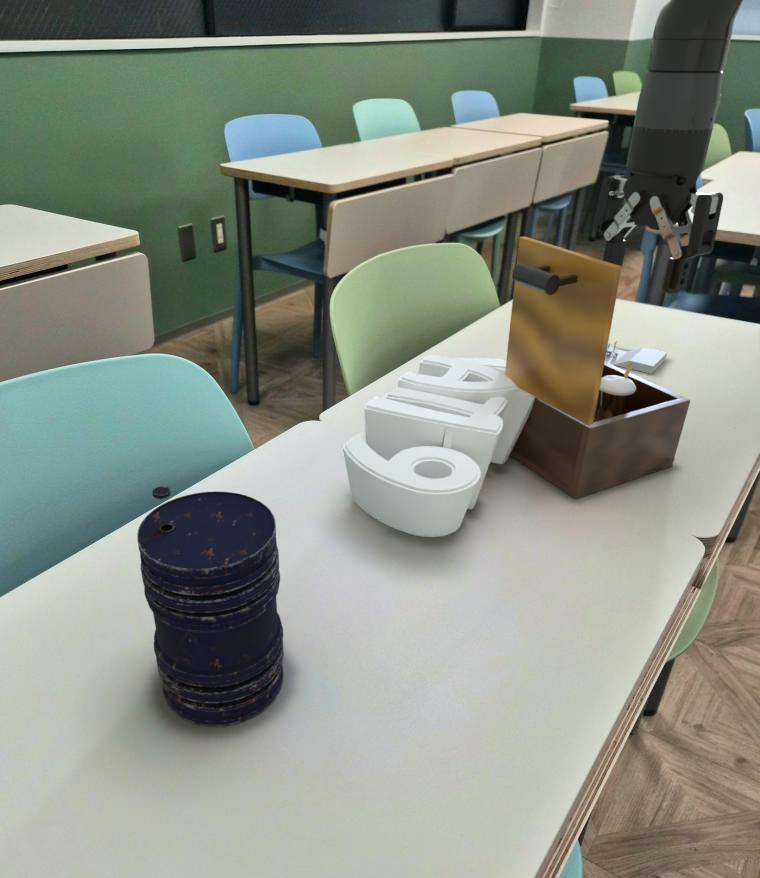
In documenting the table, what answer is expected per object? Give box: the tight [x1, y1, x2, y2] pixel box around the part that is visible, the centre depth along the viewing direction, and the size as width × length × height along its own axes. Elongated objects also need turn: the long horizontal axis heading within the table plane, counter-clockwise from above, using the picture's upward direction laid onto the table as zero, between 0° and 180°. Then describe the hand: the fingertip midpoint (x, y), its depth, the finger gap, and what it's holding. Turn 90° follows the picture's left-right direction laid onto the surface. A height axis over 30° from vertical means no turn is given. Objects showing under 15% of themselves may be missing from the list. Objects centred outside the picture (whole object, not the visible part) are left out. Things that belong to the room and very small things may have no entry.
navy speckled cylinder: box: [136, 485, 284, 728], centre depth 55 cm, size 10×10×18 cm
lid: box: [505, 235, 623, 426], centre depth 78 cm, size 17×14×5 cm
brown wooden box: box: [509, 362, 691, 500], centre depth 90 cm, size 16×14×9 cm
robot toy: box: [605, 340, 668, 375], centre depth 120 cm, size 7×12×2 cm, turn 54°
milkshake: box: [594, 364, 636, 422], centre depth 90 cm, size 4×5×10 cm
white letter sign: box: [342, 354, 537, 538], centre depth 84 cm, size 35×16×11 cm, turn 149°
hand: (640, 282), depth 82 cm, fingers open, 8 cm apart
